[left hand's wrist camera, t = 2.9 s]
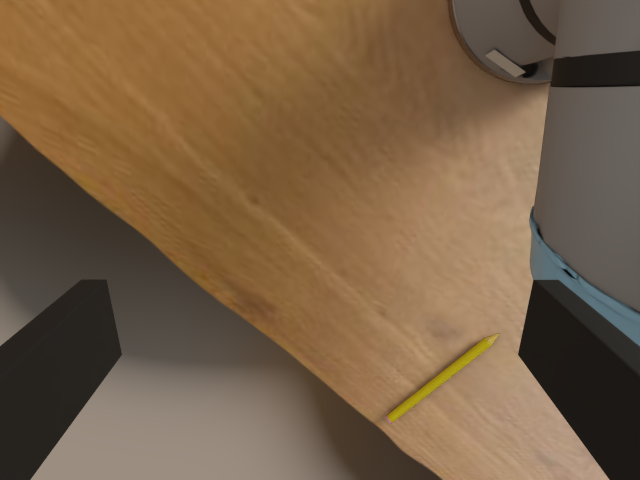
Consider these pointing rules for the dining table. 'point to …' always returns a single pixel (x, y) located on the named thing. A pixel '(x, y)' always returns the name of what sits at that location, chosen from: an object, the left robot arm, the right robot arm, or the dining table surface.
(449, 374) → the pencil
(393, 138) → the dining table surface
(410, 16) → the dining table surface
